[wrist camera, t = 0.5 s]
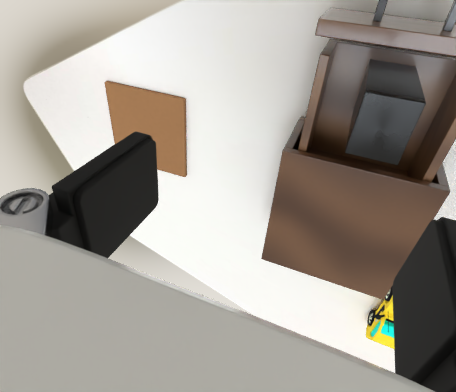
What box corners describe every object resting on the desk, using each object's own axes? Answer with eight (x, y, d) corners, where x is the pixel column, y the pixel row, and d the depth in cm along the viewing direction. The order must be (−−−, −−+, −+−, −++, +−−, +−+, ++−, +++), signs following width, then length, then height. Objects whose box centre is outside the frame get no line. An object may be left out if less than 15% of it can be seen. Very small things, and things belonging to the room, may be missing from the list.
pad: (107, 80, 44) (104, 81, 44) (185, 98, 42) (183, 99, 41) (119, 156, 52) (117, 157, 51) (186, 175, 49) (185, 177, 48)
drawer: (343, -51, 27) (333, -52, 22) (528, -35, 24) (567, -32, 19) (297, 146, 39) (284, 175, 34) (419, 175, 35) (424, 212, 30)
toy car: (410, 335, 51) (413, 388, 44) (360, 315, 52) (356, 364, 46) (451, 289, 43) (463, 346, 37) (391, 268, 45) (392, 319, 39)
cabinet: (300, 116, 37) (282, 150, 31) (438, 146, 34) (450, 191, 27) (278, 217, 47) (261, 259, 41) (383, 248, 43) (383, 300, 37)
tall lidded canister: (369, 58, 30) (365, 91, 23) (416, 66, 29) (426, 103, 22) (353, 110, 33) (344, 153, 26) (394, 118, 32) (397, 165, 25)
